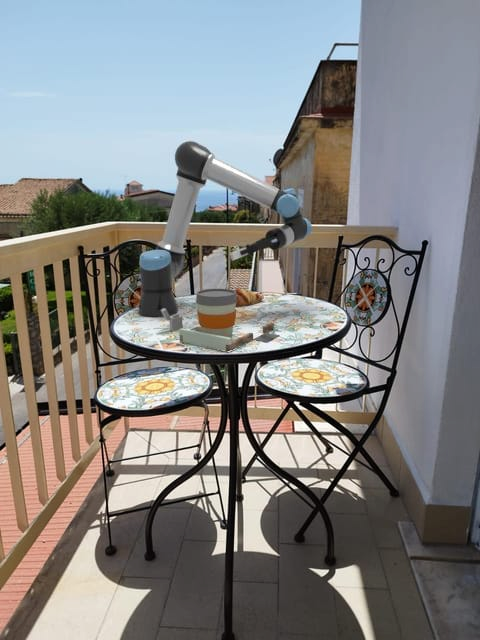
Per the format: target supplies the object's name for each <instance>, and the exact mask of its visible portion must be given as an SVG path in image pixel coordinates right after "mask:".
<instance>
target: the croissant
mask: <svg viewBox="0 0 480 640" xmlns="http://www.w3.org/2000/svg"><path fill="white" fill-rule="evenodd" d="M234 291H236V296H237V302H236V306H235V307H245V306H251V305H253V304H257V303H259V302H262V301H263V300H264V298H265V296H264V295H263V294H262V295H261V294H260V293H259V292H257V293H255V292H254V291H251V290H244V289H242V288H237V289H234Z"/></svg>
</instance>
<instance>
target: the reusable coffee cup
mask: <svg viewBox="0 0 480 640" xmlns="http://www.w3.org/2000/svg"><path fill="white" fill-rule="evenodd" d="M234 290H235V289H234ZM234 290H233V289H229V288H206V289H202V290H201V289H200V290H198V291H197V292H196V293H195V294H196V296H195V304H196V306H197V310H196V313H197V317H198V318H197V319H198V324H199V327H201V330H202V332H204V333H209V334H214V335H219V336H224V337H229V338H233V331H234V330H233V329H234V326H235V325H236V315H237V309H236V307H237V306H236V302H237V296H236V291H234Z"/></svg>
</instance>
